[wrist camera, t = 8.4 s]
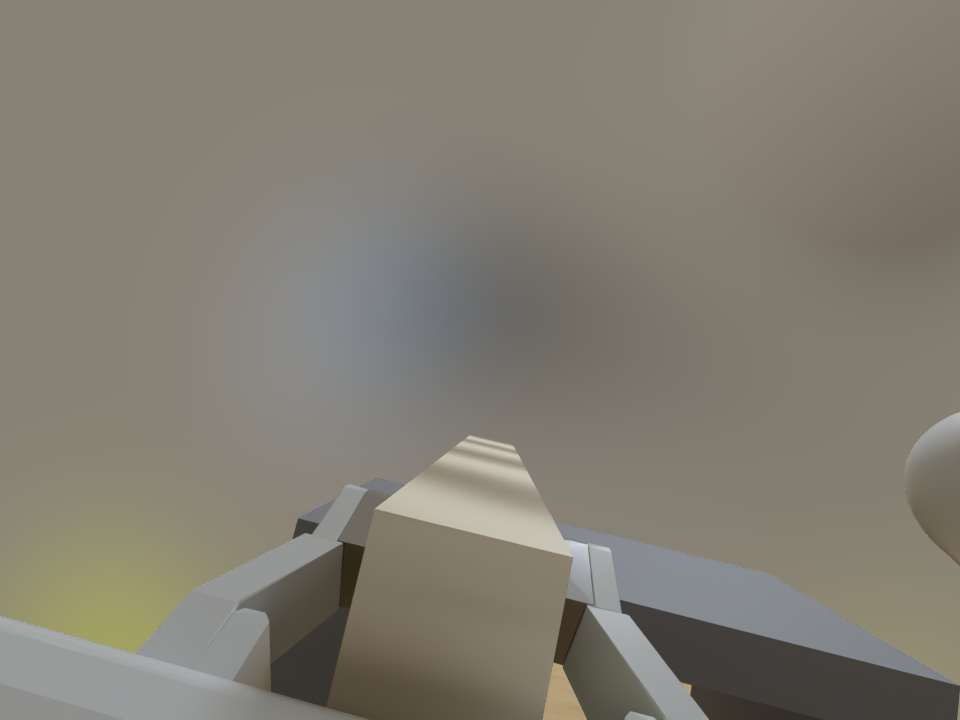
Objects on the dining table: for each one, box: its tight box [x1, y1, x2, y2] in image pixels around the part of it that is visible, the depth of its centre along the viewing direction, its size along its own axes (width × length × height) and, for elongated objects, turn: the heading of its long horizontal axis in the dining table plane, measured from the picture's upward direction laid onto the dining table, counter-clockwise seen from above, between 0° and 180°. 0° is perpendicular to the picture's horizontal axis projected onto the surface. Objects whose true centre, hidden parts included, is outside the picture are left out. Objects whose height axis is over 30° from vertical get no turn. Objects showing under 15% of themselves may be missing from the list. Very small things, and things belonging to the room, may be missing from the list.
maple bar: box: [326, 435, 573, 720], centre depth 18 cm, size 24×3×3 cm, turn 178°
